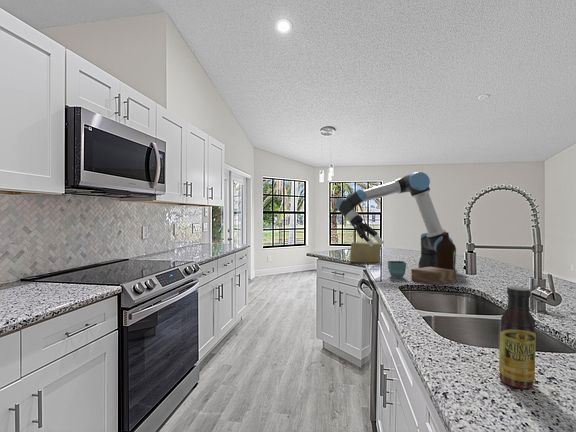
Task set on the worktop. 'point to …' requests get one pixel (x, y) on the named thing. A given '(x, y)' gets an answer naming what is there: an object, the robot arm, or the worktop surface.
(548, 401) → the worktop surface
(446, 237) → the olive oil
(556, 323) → the worktop surface
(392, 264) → the flower pot
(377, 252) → the cheese
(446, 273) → the walnut base
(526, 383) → the sauce bottle
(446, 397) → the worktop surface
